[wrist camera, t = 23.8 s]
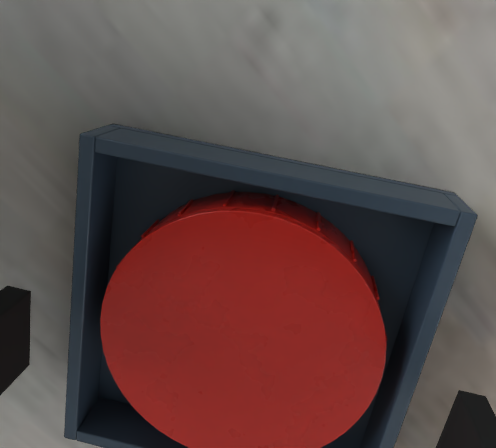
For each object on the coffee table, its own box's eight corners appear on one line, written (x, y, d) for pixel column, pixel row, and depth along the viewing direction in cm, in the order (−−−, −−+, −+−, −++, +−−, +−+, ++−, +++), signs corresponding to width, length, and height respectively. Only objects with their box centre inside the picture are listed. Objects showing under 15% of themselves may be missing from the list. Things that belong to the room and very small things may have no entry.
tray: (455, 192, 16) (479, 215, 14) (363, 462, 20) (369, 515, 18) (112, 123, 17) (79, 133, 14) (92, 395, 21) (63, 437, 19)
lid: (89, 220, 18) (57, 242, 15) (352, 163, 16) (357, 179, 13) (166, 430, 20) (148, 473, 18) (398, 405, 18) (408, 450, 16)
